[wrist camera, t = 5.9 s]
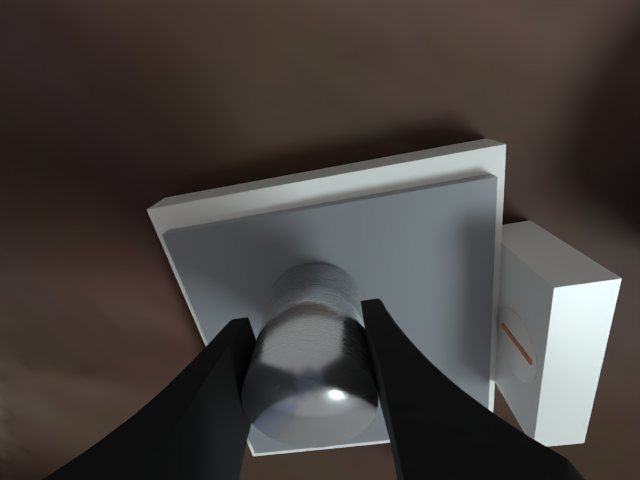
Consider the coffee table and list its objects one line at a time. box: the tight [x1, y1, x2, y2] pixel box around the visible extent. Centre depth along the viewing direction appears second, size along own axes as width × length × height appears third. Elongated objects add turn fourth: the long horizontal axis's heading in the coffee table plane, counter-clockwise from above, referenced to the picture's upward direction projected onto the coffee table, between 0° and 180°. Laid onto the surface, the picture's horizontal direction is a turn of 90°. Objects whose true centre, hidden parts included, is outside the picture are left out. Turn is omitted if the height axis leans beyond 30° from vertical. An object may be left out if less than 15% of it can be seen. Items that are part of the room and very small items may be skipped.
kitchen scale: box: [147, 138, 622, 456], centre depth 15 cm, size 16×16×5 cm
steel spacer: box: [241, 263, 378, 448], centre depth 12 cm, size 4×4×5 cm
